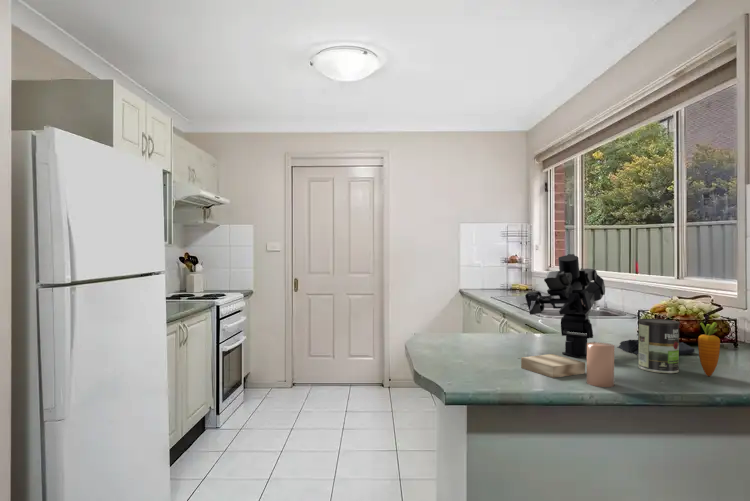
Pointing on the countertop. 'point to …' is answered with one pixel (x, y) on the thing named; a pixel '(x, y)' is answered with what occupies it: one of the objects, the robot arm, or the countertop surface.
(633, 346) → the dark slate chunk
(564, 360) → the oak slab
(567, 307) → the robot arm
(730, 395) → the countertop surface
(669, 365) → the coffee can
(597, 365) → the terracotta canister
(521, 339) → the countertop surface
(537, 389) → the countertop surface
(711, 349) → the carrot
